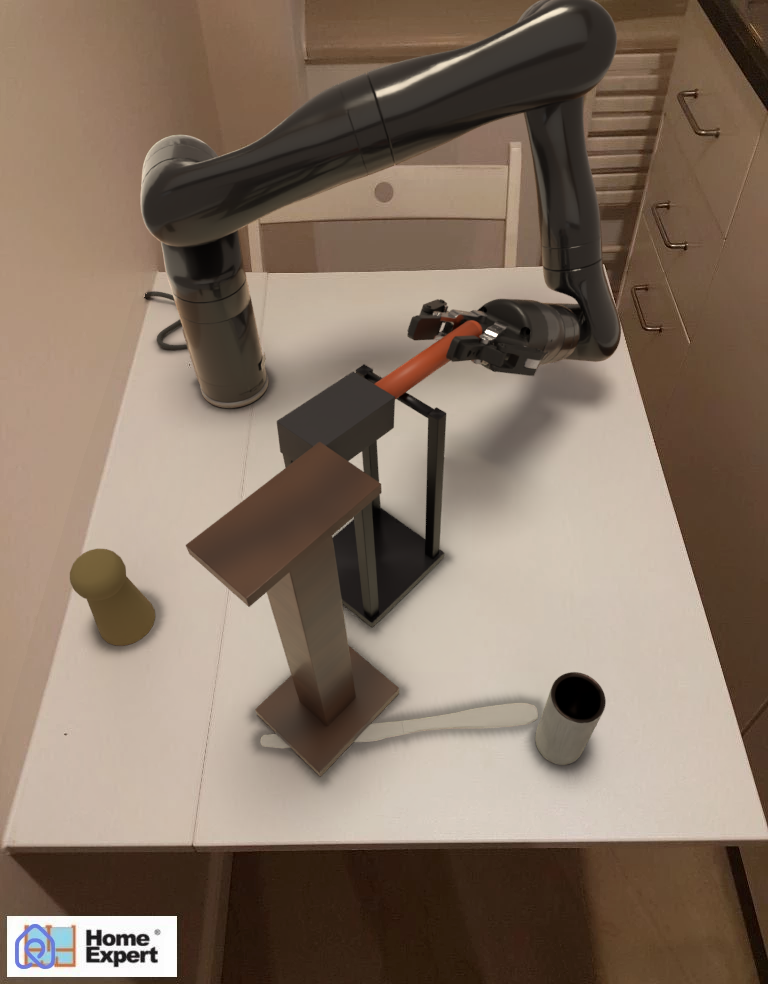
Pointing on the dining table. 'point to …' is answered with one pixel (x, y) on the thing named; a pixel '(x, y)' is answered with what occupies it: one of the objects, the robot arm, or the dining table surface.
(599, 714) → the planter
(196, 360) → the robot arm
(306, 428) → the orange-handled mallet
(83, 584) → the olive pawn
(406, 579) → the black rack
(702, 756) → the dining table surface
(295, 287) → the dining table surface
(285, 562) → the wooden pedestal stand
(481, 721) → the butter knife
